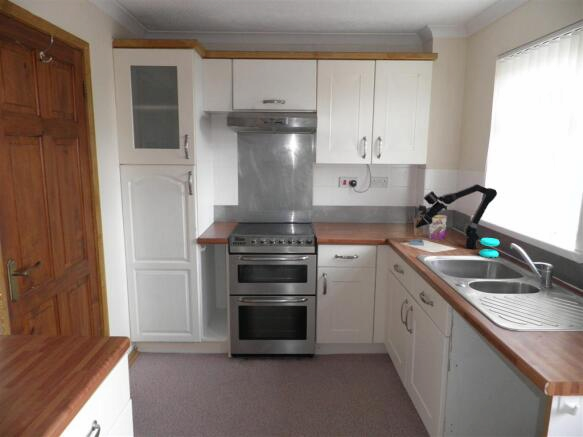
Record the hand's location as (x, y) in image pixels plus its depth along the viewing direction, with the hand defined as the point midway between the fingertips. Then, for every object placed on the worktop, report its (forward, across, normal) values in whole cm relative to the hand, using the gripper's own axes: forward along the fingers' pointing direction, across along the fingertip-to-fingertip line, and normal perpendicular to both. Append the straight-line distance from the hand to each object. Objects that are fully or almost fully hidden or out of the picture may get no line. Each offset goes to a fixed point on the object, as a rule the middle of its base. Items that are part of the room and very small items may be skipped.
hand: (415, 226), depth 253 cm
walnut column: (+3, 0, +5) cm, 6 cm away
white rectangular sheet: (+4, +4, +14) cm, 15 cm away
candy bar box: (-4, -25, +22) cm, 33 cm away
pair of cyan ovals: (-18, +19, +37) cm, 45 cm away
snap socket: (+7, 0, +9) cm, 12 cm away
